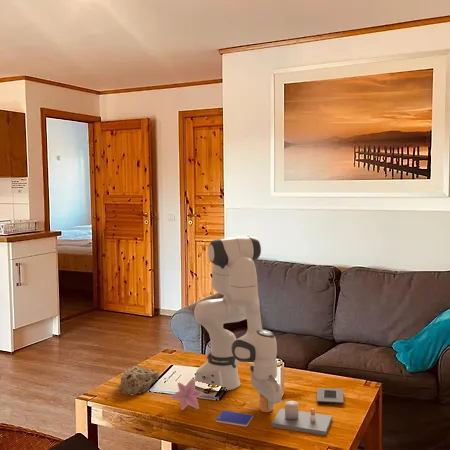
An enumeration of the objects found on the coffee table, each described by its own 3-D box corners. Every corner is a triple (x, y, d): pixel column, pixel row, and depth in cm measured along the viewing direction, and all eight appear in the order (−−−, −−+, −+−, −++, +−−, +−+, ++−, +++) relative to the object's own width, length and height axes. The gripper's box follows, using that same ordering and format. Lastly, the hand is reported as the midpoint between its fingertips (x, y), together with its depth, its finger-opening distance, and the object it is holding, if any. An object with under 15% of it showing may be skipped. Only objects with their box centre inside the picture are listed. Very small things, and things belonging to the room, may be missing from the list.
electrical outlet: (343, 407, 210) (343, 401, 210) (316, 405, 212) (316, 399, 212) (342, 393, 223) (342, 388, 222) (317, 392, 225) (317, 387, 225)
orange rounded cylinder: (258, 410, 207) (258, 398, 206) (262, 405, 211) (262, 393, 211) (270, 412, 205) (270, 400, 204) (274, 407, 209) (274, 395, 209)
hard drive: (215, 418, 199) (246, 423, 195) (223, 409, 207) (253, 414, 202) (215, 422, 199) (246, 428, 195) (223, 413, 207) (253, 418, 202)
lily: (166, 410, 212) (170, 395, 207) (176, 389, 222) (179, 373, 217) (194, 420, 210) (198, 405, 205) (203, 398, 220) (207, 383, 215)
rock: (131, 379, 245) (135, 358, 245) (159, 388, 242) (164, 367, 242) (111, 392, 225) (116, 369, 225) (142, 402, 222) (147, 380, 222)
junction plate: (271, 426, 194) (271, 408, 193) (280, 411, 206) (280, 394, 205) (325, 435, 187) (325, 416, 186) (332, 419, 199) (332, 401, 198)
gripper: (285, 379, 198) (285, 414, 199) (262, 361, 217) (262, 394, 218) (270, 382, 196) (270, 418, 197) (248, 364, 215) (248, 396, 216)
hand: (266, 405), depth 208 cm, fingers closed on orange rounded cylinder, 5 cm apart
